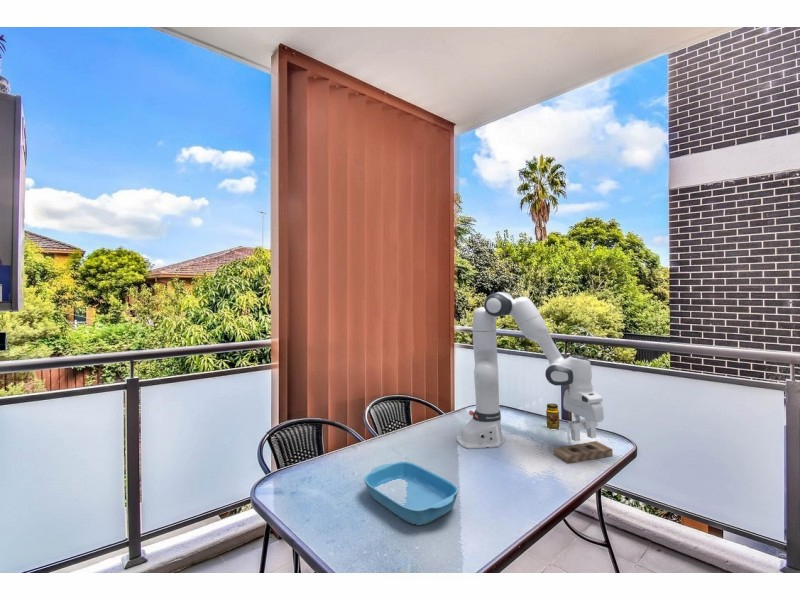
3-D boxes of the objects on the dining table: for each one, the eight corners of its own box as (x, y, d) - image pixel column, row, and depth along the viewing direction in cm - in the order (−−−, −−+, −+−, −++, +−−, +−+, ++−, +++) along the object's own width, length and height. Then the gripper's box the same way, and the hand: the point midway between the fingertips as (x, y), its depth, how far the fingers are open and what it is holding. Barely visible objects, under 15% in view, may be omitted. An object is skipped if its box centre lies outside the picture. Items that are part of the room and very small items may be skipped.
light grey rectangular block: (574, 441, 159) (573, 424, 159) (569, 439, 162) (568, 421, 162) (598, 437, 162) (597, 419, 162) (593, 435, 165) (592, 417, 165)
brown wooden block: (567, 463, 155) (567, 456, 155) (553, 454, 164) (553, 448, 164) (612, 456, 160) (612, 448, 160) (596, 447, 169) (596, 441, 169)
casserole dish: (354, 492, 139) (353, 473, 139) (402, 473, 153) (401, 455, 153) (420, 542, 110) (419, 517, 110) (472, 512, 124) (471, 490, 124)
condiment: (552, 431, 191) (552, 407, 191) (540, 426, 199) (539, 403, 198) (563, 428, 194) (563, 405, 194) (551, 423, 202) (550, 401, 201)
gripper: (558, 389, 171) (560, 419, 171) (592, 400, 151) (594, 435, 151) (570, 387, 172) (572, 417, 172) (605, 398, 152) (607, 433, 153)
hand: (582, 426), depth 162 cm, fingers closed on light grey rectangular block, 3 cm apart
